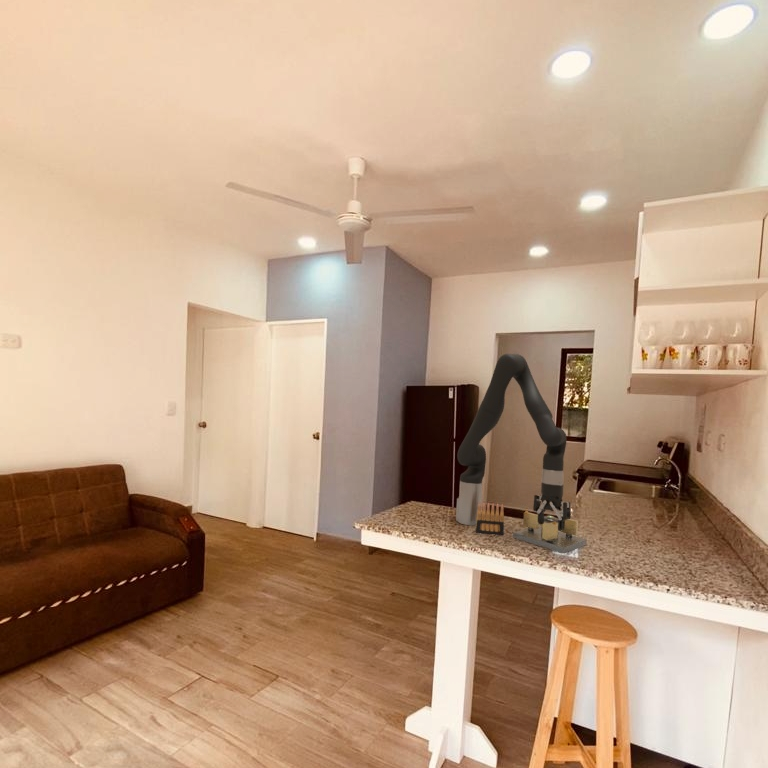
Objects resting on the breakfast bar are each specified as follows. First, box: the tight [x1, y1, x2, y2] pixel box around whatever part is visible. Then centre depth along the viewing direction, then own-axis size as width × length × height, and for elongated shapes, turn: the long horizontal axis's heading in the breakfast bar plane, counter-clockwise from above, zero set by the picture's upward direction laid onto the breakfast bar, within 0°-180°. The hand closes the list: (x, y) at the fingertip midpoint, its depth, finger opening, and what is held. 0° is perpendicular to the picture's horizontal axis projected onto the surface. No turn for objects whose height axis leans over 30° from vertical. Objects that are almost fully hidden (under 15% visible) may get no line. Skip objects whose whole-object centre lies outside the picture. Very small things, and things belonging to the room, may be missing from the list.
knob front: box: [542, 521, 559, 543], centre depth 159 cm, size 2×6×7 cm, turn 121°
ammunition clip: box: [475, 501, 505, 536], centre depth 171 cm, size 11×2×12 cm, turn 86°
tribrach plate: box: [512, 515, 588, 554], centre depth 166 cm, size 20×18×9 cm
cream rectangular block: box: [560, 518, 579, 537], centre depth 167 cm, size 2×6×7 cm, turn 51°
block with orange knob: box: [522, 510, 540, 531], centre depth 172 cm, size 2×6×7 cm, turn 41°
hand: (550, 527), depth 158 cm, fingers open, 8 cm apart
